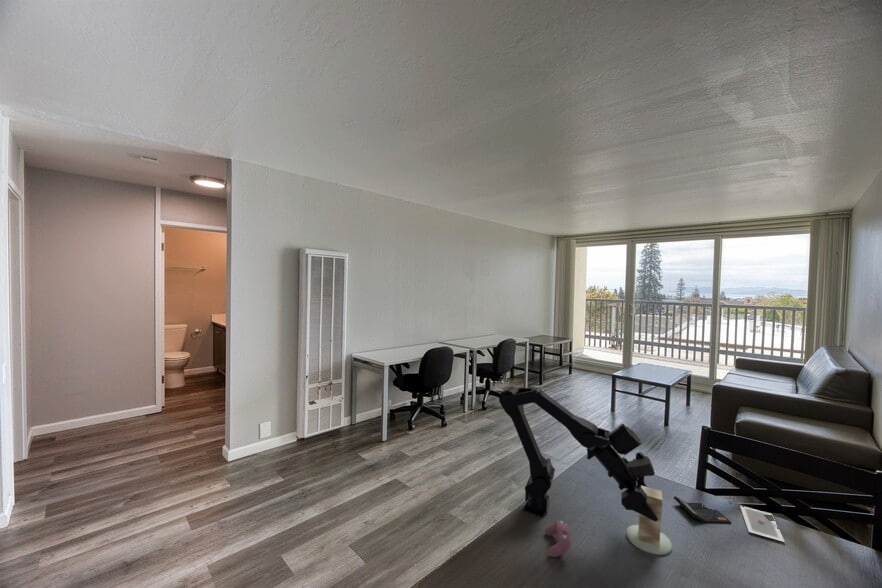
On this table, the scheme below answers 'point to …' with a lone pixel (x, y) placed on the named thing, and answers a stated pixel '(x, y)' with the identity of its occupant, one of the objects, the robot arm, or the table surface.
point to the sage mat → (647, 547)
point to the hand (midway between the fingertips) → (655, 511)
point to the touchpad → (761, 523)
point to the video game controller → (559, 538)
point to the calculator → (703, 512)
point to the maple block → (648, 527)
